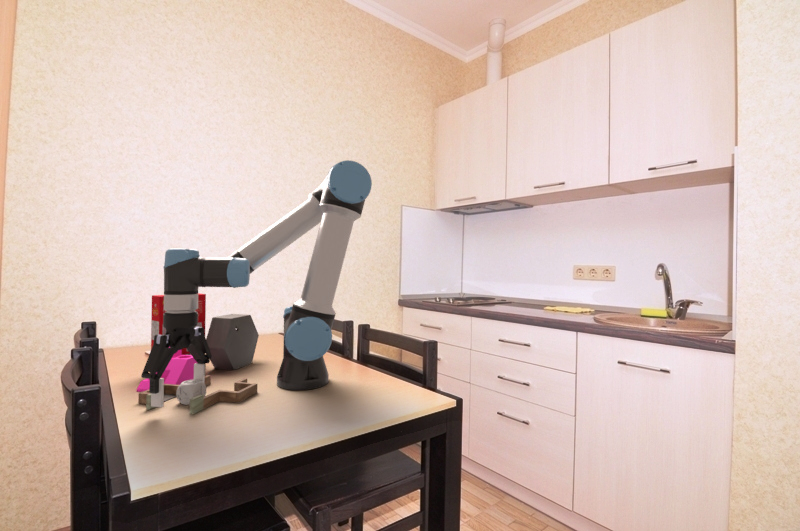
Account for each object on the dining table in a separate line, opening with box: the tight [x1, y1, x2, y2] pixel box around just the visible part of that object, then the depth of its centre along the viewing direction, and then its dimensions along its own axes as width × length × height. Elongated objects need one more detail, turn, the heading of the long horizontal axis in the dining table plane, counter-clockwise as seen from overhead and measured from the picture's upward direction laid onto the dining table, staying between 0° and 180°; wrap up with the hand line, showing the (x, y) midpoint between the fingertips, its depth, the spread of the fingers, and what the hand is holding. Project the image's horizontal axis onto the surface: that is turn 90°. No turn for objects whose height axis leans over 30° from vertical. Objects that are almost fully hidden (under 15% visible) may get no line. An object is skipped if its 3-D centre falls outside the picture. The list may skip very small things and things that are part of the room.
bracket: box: [136, 347, 197, 393], centre depth 117 cm, size 12×10×10 cm
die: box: [176, 379, 207, 406], centre depth 104 cm, size 5×5×5 cm
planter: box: [205, 313, 260, 371], centre depth 140 cm, size 17×8×21 cm
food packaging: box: [150, 292, 207, 355], centre depth 133 cm, size 15×5×25 cm, turn 145°
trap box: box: [137, 374, 258, 415], centre depth 107 cm, size 24×22×4 cm
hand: (179, 397), depth 100 cm, fingers open, 13 cm apart
